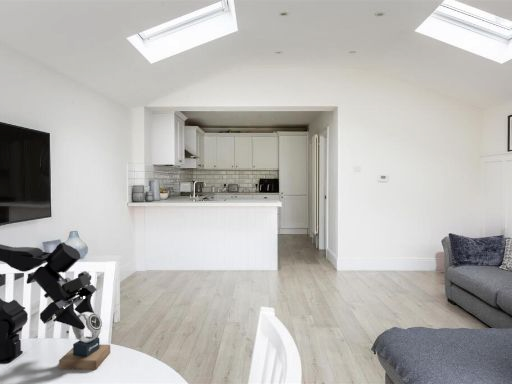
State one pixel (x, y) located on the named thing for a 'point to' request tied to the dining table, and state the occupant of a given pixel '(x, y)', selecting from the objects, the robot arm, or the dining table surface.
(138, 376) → the dining table surface
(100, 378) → the dining table surface
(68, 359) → the plinth
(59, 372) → the dining table surface
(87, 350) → the watch
